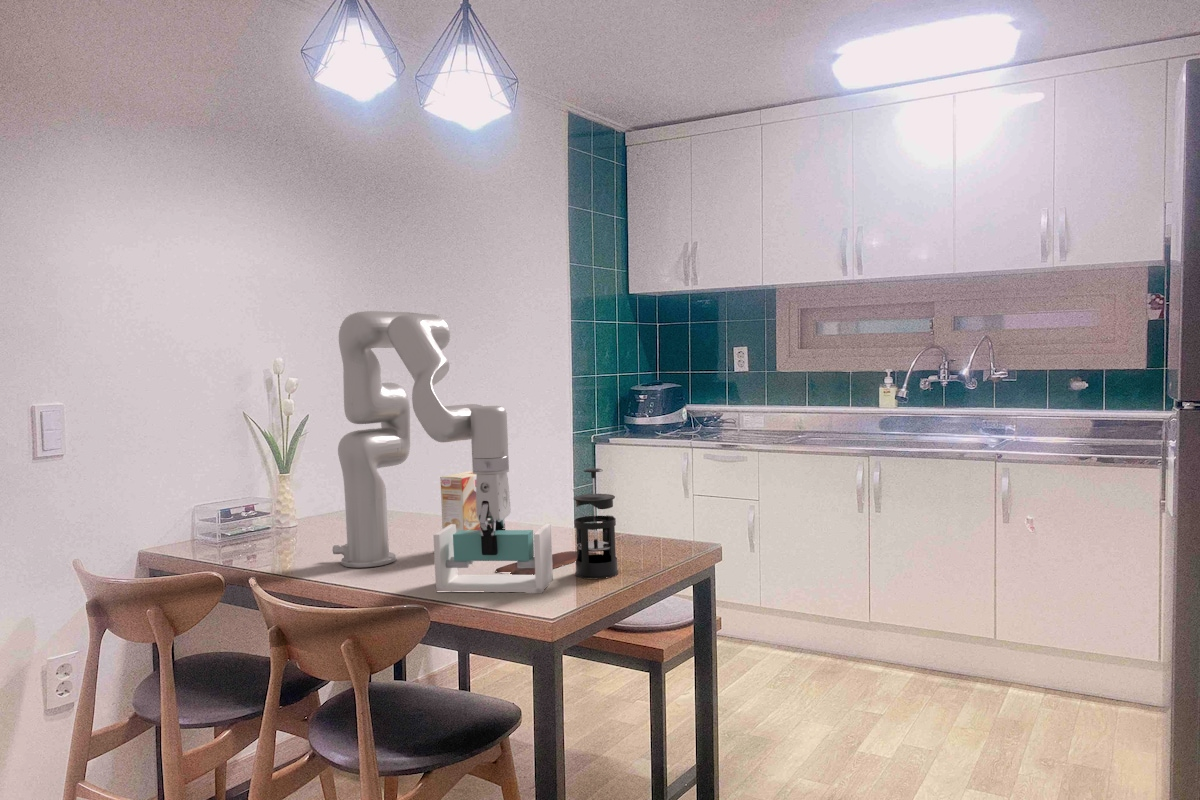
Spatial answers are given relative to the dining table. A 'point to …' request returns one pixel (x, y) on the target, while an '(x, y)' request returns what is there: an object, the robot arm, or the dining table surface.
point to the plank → (508, 546)
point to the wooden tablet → (557, 561)
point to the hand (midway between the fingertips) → (494, 550)
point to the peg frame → (492, 583)
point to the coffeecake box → (459, 501)
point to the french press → (595, 563)
